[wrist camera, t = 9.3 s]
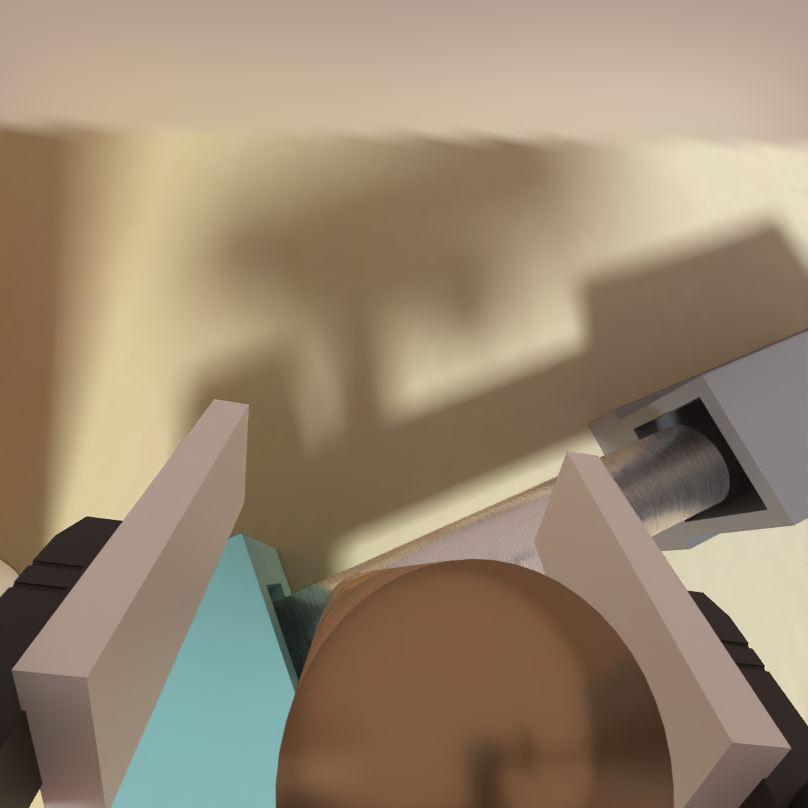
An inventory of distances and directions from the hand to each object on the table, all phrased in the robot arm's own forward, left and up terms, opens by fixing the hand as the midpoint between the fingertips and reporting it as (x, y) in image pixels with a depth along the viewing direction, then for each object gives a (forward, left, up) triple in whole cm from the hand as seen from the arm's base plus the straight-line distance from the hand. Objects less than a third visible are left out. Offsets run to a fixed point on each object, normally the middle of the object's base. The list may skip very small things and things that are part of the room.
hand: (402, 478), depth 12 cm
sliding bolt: (-3, -2, -7) cm, 8 cm away
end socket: (-3, +6, -11) cm, 13 cm away
